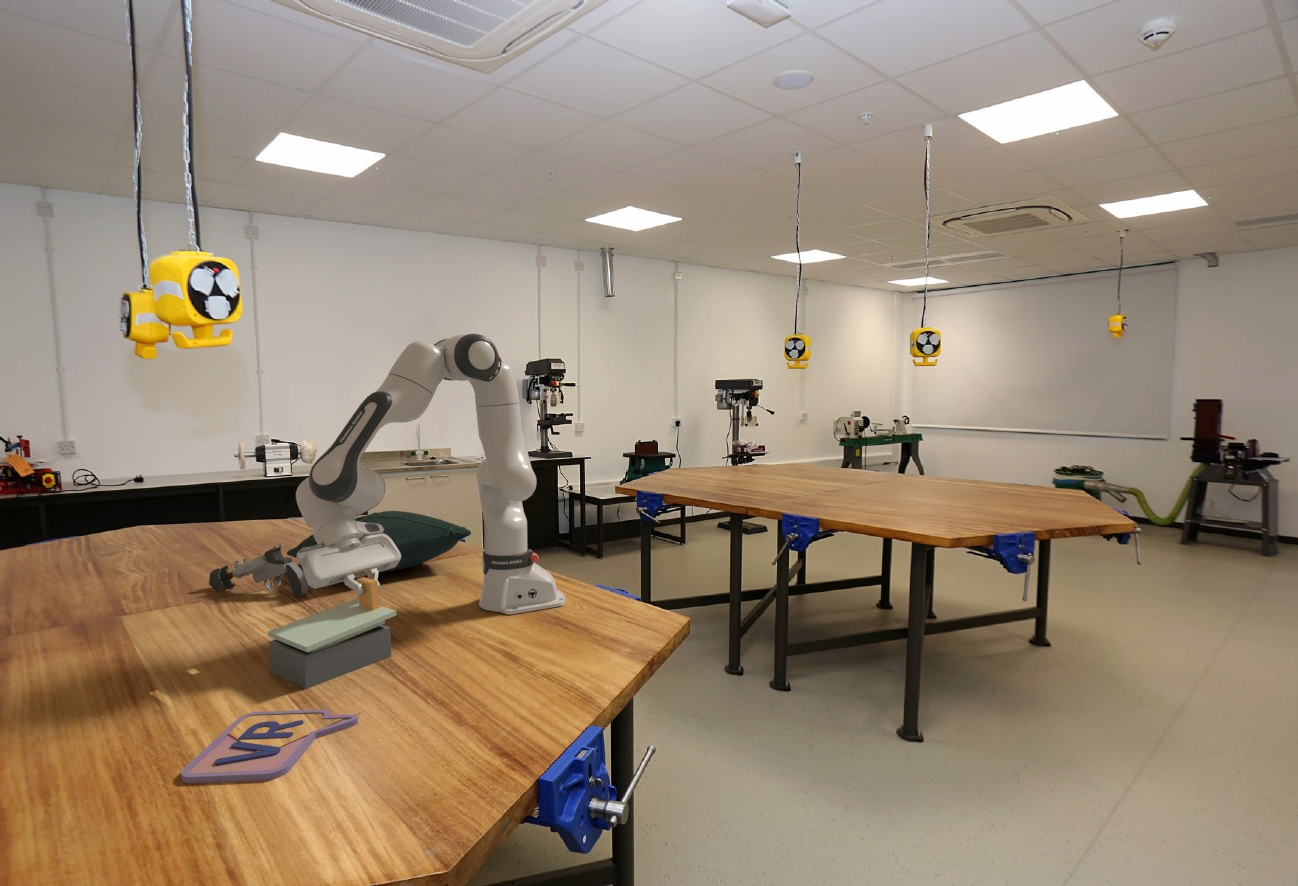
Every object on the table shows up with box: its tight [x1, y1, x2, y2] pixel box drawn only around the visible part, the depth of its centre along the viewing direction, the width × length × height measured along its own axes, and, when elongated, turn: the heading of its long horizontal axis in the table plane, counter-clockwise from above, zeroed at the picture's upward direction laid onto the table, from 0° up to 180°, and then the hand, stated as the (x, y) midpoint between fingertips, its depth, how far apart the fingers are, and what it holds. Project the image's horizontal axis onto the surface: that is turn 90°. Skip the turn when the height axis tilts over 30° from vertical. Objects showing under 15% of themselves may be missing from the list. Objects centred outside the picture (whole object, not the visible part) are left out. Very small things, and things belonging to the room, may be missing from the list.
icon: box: [180, 709, 359, 784], centre depth 103 cm, size 19×2×20 cm
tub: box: [268, 624, 392, 690], centre depth 132 cm, size 18×13×7 cm
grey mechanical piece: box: [208, 543, 309, 598], centre depth 180 cm, size 6×28×16 cm, turn 78°
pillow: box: [286, 510, 472, 574], centre depth 204 cm, size 44×18×44 cm
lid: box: [267, 576, 397, 653], centre depth 131 cm, size 19×14×8 cm
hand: (369, 591), depth 137 cm, fingers closed on lid
